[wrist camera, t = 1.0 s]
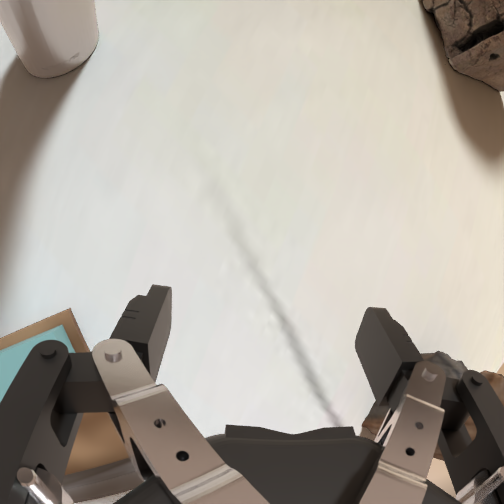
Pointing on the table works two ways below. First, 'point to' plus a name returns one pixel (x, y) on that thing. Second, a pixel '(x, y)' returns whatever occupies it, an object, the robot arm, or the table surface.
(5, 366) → the sliding jaw
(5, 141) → the table surface
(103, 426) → the vise bed
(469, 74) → the carved wooden block
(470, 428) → the brown grey rock
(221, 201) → the table surface
